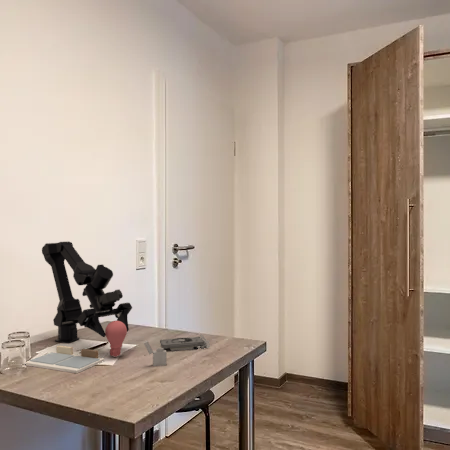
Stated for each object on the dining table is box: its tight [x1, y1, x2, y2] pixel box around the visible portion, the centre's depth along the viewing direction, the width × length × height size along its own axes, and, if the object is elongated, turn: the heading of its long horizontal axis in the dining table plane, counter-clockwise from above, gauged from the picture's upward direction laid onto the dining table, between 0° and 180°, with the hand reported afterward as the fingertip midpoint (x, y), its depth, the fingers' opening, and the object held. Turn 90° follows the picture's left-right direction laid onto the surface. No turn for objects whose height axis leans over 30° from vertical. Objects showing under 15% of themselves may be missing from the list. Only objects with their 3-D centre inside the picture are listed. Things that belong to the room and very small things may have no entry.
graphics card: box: [159, 333, 211, 352], centre depth 164 cm, size 17×4×12 cm
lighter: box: [143, 339, 167, 367], centre depth 143 cm, size 7×2×8 cm, turn 105°
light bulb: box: [104, 320, 128, 358], centre depth 152 cm, size 7×7×12 cm
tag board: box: [25, 345, 105, 374], centre depth 145 cm, size 21×13×3 cm, turn 67°
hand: (116, 333), depth 152 cm, fingers open, 9 cm apart
